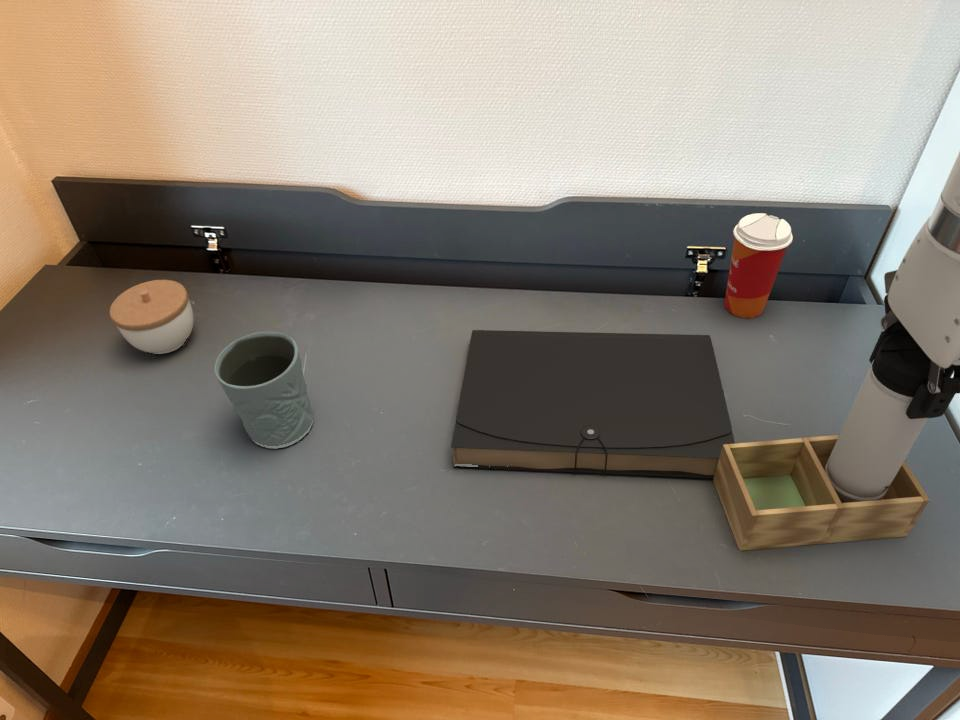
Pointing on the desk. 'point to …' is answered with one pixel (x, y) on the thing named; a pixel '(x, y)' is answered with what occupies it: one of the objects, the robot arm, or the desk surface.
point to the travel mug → (880, 422)
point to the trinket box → (154, 315)
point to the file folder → (592, 404)
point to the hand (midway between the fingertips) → (904, 386)
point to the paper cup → (755, 262)
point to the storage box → (805, 497)
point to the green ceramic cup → (266, 386)
